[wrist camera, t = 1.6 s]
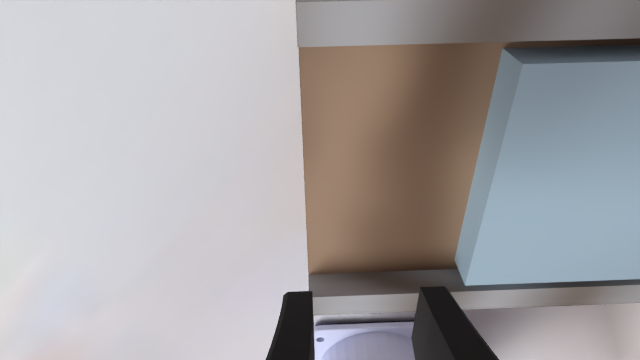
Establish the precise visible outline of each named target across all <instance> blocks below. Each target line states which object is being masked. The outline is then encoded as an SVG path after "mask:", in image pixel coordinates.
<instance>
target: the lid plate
mask: <svg viewBox="0 0 640 360" xmlns="http://www.w3.org/2000/svg"><path fill="white" fill-rule="evenodd" d="M454 260H455V262H456V265H457V267H458V270H459V272H460V274H461V277H462V279H463V282H464V284H465V286H470V285H496V284H523V283H549V282H576V281H602V280H629V279H640V45H604V46H567V47H529V48H503V49H502V53H501V58H500V62H499V66H498V71H497V75H496V80H495V84H494V88H493V93H492V97H491V101H490V106H489V110H488V115H487V119H486V123H485V128H484V132H483V137H482V141H481V145H480V150H479V154H478V158H477V163H476V167H475V172H474V176H473V180H472V185H471V189H470V194H469V198H468V202H467V207H466V211H465V215H464V220H463V224H462V229H461V233H460V237H459V242H458V246H457V251H456V255H455V259H454Z"/></svg>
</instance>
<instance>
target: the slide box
mask: <svg viewBox="0 0 640 360" xmlns="http://www.w3.org/2000/svg"><path fill="white" fill-rule="evenodd" d="M296 20H297V42H298V47H299V67H300V89H301V112H302V135H303V158H304V181H305V204H306V227H307V249H308V272H309V291H312V294H313V316H314V315H340V314H365V313H391V312H416V308H417V302H418V296H419V290H420V287H434V286H445V287H446V288H447V289H448V290H449V291H450V293H451V295H452V296H453V297H454V299H455V300H456V302H457V303H458V305H459V306H460V308H461V309H462V310H468V309H494V308H520V307H545V306H571V305H597V304H623V303H640V279H629V280H602V281H576V282H549V283H523V284H496V285H470V286H465V284H464V282H463V279H462V277H461V274H460V272H459V270H458V267H457V265H456V262H455V260H454V259H455V255H456V251H457V246H458V242H459V237H460V233H461V229H462V224H463V220H464V215H465V211H466V207H467V202H468V198H469V194H470V189H471V185H472V180H473V176H474V172H475V167H476V163H477V158H478V154H479V150H480V145H481V141H482V137H483V132H484V128H485V123H486V119H487V115H488V110H489V106H490V101H491V97H492V93H493V88H494V84H495V80H496V75H497V71H498V66H499V62H500V58H501V53H502V49H503V48H529V47H567V46H604V45H640V0H296Z"/></svg>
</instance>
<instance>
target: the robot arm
mask: <svg viewBox="0 0 640 360" xmlns="http://www.w3.org/2000/svg"><path fill="white" fill-rule="evenodd" d="M266 360H499V359H498V358H497V356H496V355H495V354H494V353H493V351H492V350H491V349H490V347H489V346H488V345H487V344H486V342H485V341H484V340H483V338H482V337H481V336H480V334H479V333H478V331H477V330H476V329H475V327H474V326H473V325H472V323H471V322H470V321H469V319H468V318H467V316H466V315H465V313H464V312H463V311H462V309H461V308H460V306H459V305H458V303H457V302H456V300H455V299H454V297H453V296H452V295H451V293H450V291H449V290H448V289H447V288H446V287H445V286H434V287H420V290H419V296H418V302H417V308H416V314H415V319H414V322H389V323H364V324H339V325H318V326H315V327H314V320H313V294H312V291H302V292H287V293H286V294H285V295H284V296H283V303H282V308H281V312H280V317H279V320H278V324H277V328H276V331H275V334H274V337H273V340H272V344H271V347H270V349H269V352H268V355H267V358H266Z"/></svg>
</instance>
